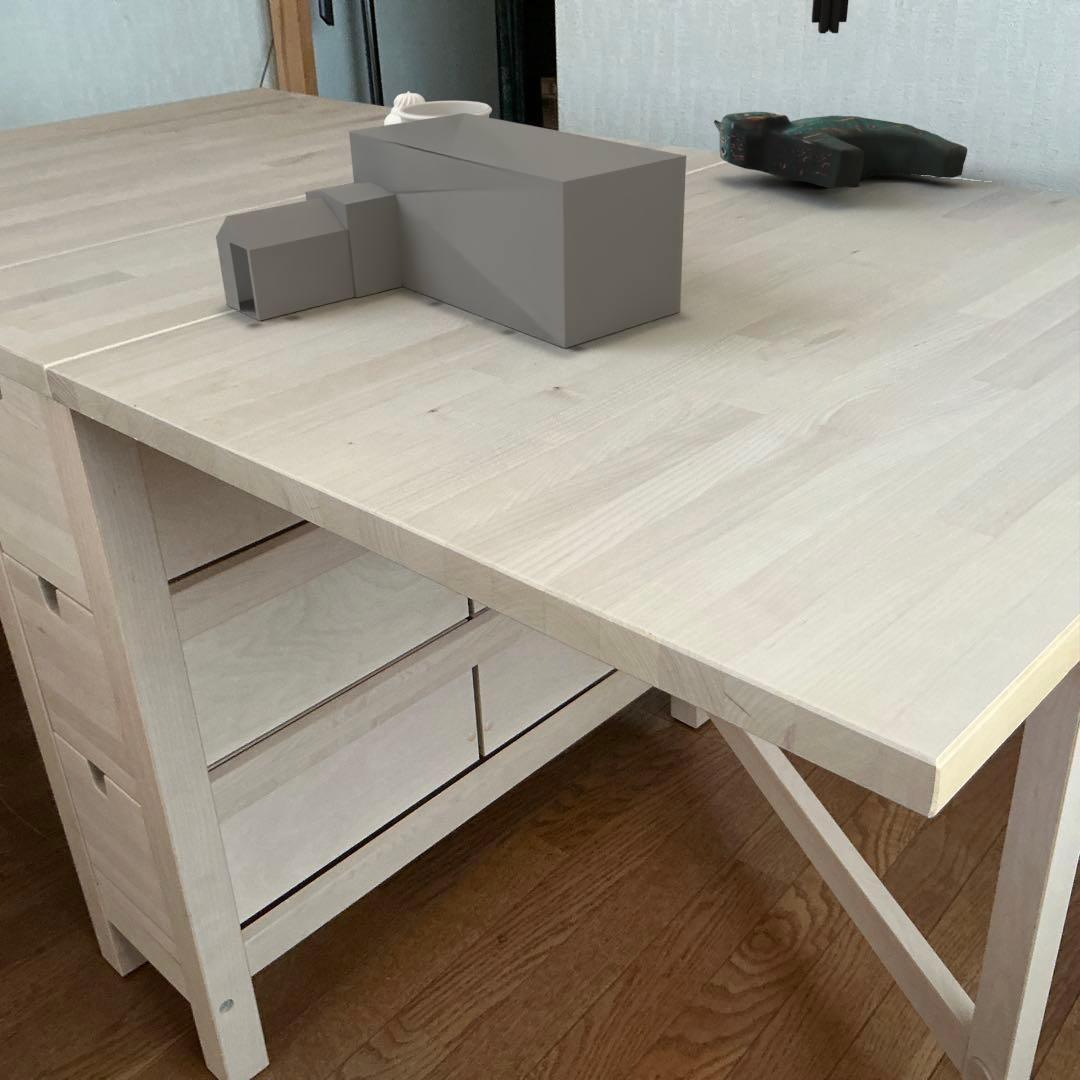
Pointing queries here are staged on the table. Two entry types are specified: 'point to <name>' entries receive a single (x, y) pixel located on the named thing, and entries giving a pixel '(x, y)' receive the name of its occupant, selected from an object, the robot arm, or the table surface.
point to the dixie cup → (442, 109)
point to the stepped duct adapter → (476, 229)
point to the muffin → (401, 102)
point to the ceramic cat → (835, 148)
